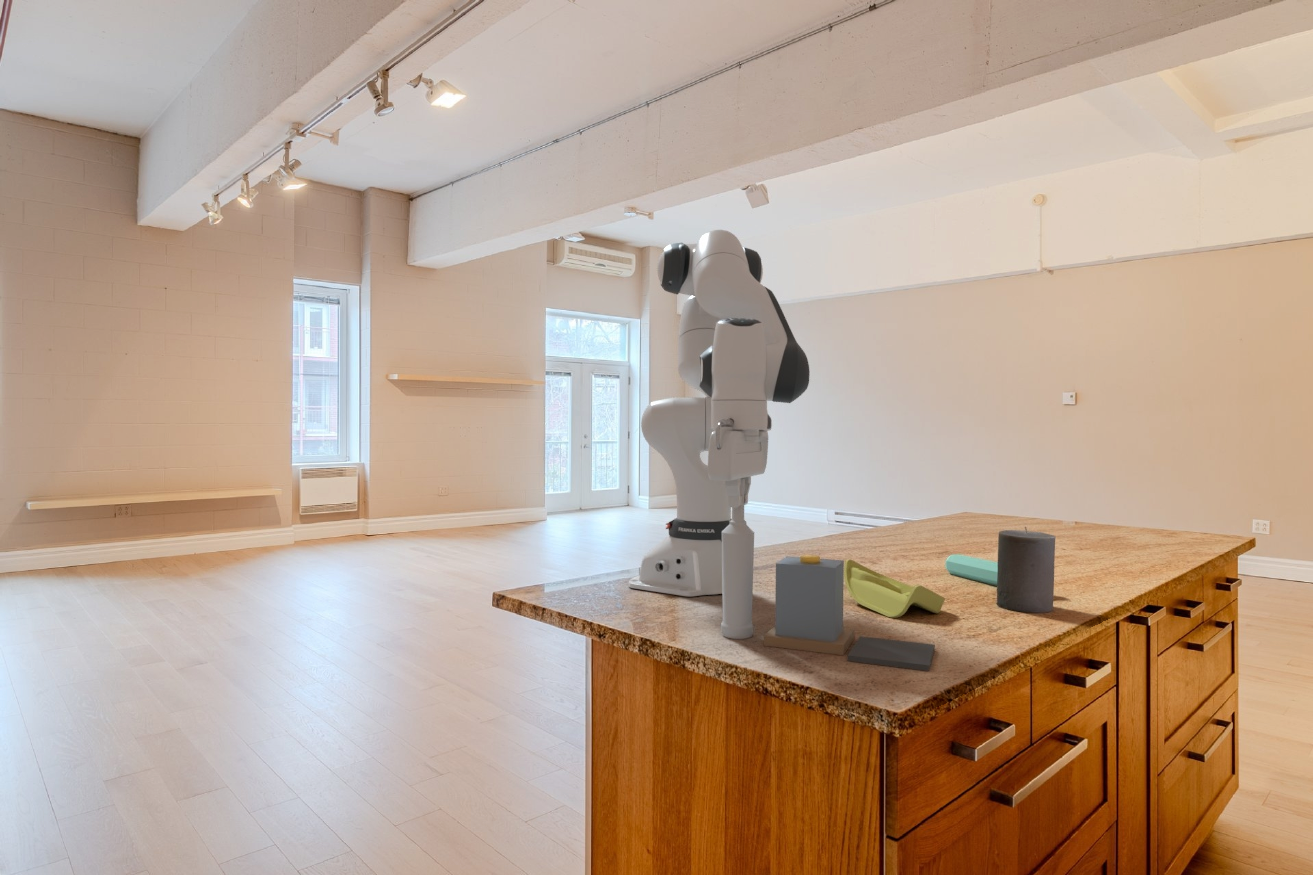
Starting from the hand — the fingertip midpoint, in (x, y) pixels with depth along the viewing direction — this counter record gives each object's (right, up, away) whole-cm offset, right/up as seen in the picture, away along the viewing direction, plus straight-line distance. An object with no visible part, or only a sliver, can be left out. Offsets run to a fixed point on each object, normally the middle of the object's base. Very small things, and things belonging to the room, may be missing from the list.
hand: (738, 506), depth 124 cm
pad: (+22, -21, -10) cm, 32 cm away
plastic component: (+31, -21, +22) cm, 43 cm away
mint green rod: (+59, -21, +43) cm, 75 cm away
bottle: (0, -21, 0) cm, 21 cm away
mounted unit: (+11, -21, -3) cm, 24 cm away
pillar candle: (+56, -21, +21) cm, 63 cm away
